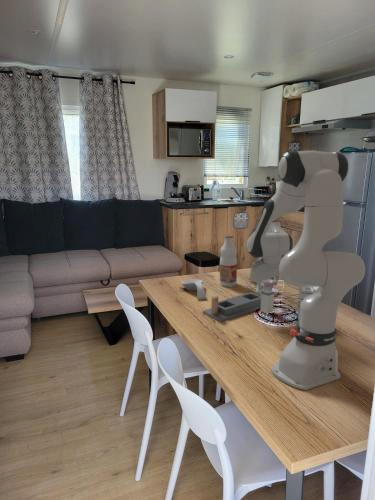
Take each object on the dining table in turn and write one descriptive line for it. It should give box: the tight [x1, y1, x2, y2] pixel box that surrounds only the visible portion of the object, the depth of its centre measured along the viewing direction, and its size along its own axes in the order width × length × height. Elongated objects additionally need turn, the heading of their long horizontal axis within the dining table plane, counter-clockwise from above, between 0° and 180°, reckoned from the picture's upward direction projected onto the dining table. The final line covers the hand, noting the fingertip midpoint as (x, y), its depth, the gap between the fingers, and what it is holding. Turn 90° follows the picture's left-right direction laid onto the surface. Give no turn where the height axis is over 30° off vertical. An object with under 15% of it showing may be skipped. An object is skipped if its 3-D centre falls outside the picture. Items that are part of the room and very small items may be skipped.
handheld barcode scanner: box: [181, 279, 207, 300], centre depth 192 cm, size 24×12×7 cm, turn 15°
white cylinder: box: [259, 289, 275, 313], centre depth 164 cm, size 4×4×10 cm
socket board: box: [202, 283, 264, 322], centre depth 169 cm, size 33×12×9 cm, turn 126°
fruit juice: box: [219, 234, 238, 288], centre depth 201 cm, size 9×9×28 cm
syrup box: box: [297, 286, 315, 322], centre depth 154 cm, size 6×6×14 cm
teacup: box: [255, 279, 279, 296], centre depth 191 cm, size 12×12×6 cm
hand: (267, 287), depth 163 cm, fingers open, 8 cm apart
